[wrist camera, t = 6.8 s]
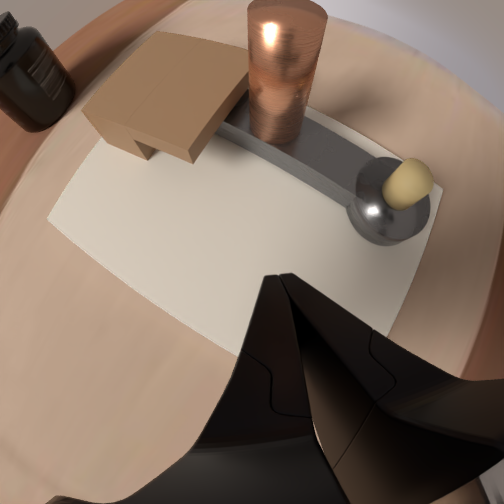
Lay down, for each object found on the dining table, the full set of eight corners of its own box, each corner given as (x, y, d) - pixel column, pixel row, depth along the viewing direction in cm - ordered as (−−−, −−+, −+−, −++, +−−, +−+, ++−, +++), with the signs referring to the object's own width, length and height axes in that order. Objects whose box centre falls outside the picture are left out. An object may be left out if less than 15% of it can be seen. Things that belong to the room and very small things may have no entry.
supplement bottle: (61, 73, 22) (11, 0, 10) (88, 91, 21) (30, 1, 9) (16, 121, 21) (-46, 58, 9) (37, 146, 20) (-43, 73, 8)
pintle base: (436, 193, 19) (483, 159, 13) (339, 406, 16) (374, 444, 10) (177, 64, 21) (163, 13, 15) (54, 223, 18) (2, 196, 12)
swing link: (424, 199, 17) (521, 124, 7) (398, 261, 16) (518, 212, 6) (220, 83, 19) (204, -32, 9) (176, 129, 18) (131, 11, 8)
